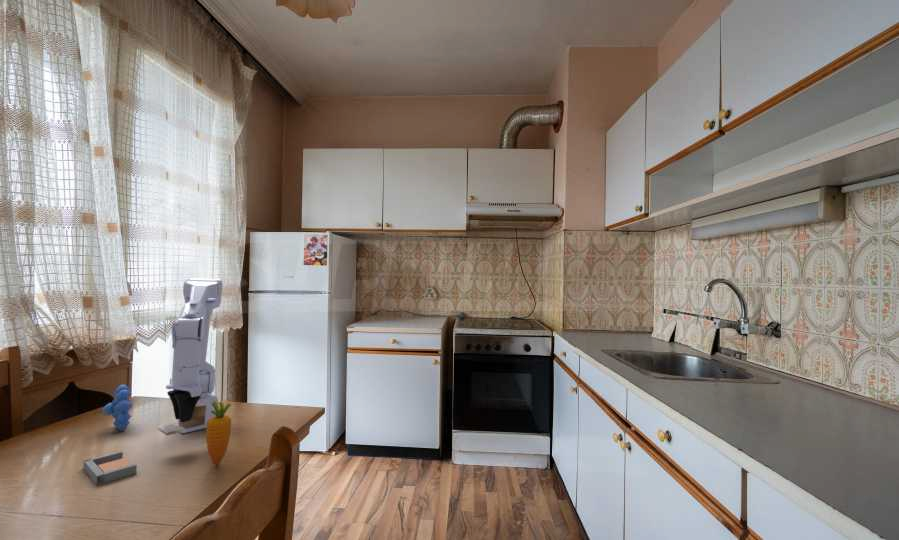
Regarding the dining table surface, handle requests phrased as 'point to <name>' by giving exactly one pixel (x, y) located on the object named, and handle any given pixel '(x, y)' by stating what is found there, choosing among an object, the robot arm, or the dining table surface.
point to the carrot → (218, 433)
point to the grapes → (120, 407)
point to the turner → (196, 420)
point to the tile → (114, 464)
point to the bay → (101, 477)
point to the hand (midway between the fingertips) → (183, 419)
